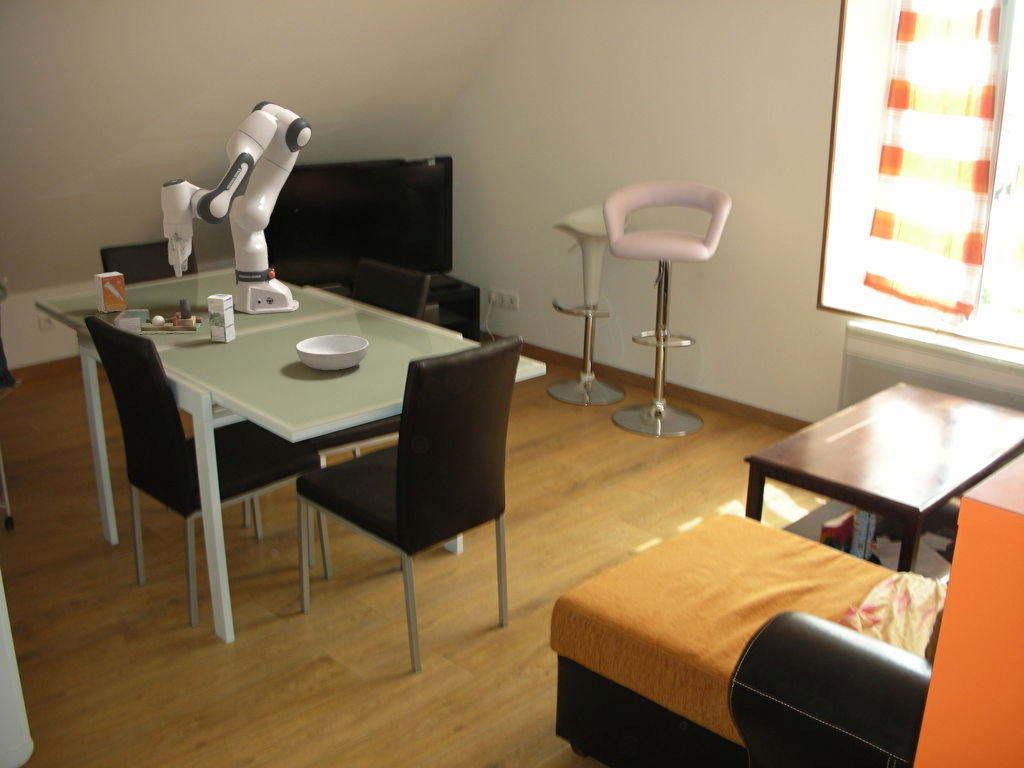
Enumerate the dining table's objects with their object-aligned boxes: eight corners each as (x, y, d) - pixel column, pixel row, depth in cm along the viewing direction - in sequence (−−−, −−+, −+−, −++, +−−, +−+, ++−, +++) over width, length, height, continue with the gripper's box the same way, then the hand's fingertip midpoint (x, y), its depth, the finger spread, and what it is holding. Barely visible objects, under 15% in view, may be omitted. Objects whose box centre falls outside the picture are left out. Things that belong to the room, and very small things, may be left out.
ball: (166, 326, 347) (165, 314, 346) (163, 329, 343) (162, 317, 342) (153, 326, 347) (152, 314, 345) (151, 329, 343) (150, 317, 342)
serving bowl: (336, 352, 321) (335, 330, 319) (383, 365, 309) (383, 342, 306) (282, 367, 306) (280, 344, 304) (330, 381, 293) (328, 358, 291)
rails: (202, 322, 352) (201, 318, 351) (196, 331, 341) (196, 326, 341) (146, 323, 350) (146, 319, 349) (139, 332, 339) (139, 327, 339)
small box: (105, 314, 362) (100, 277, 358) (97, 310, 367) (93, 274, 363) (127, 310, 368) (123, 274, 364) (119, 307, 372) (115, 271, 368)
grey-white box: (149, 323, 351) (148, 309, 349) (141, 334, 338) (139, 319, 337) (125, 324, 350) (123, 309, 348) (115, 334, 338) (114, 319, 336)
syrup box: (236, 338, 334) (232, 294, 330) (226, 343, 329) (222, 298, 324) (220, 337, 336) (216, 292, 331) (210, 341, 330) (206, 297, 326)
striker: (196, 323, 350) (194, 297, 347) (192, 329, 343) (190, 302, 340) (177, 324, 349) (175, 297, 346) (173, 330, 342) (170, 303, 339)
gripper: (182, 236, 326) (185, 280, 331) (193, 225, 346) (196, 267, 350) (161, 236, 326) (165, 280, 330) (174, 226, 345) (177, 267, 349)
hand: (181, 273), depth 340 cm, fingers open, 8 cm apart
